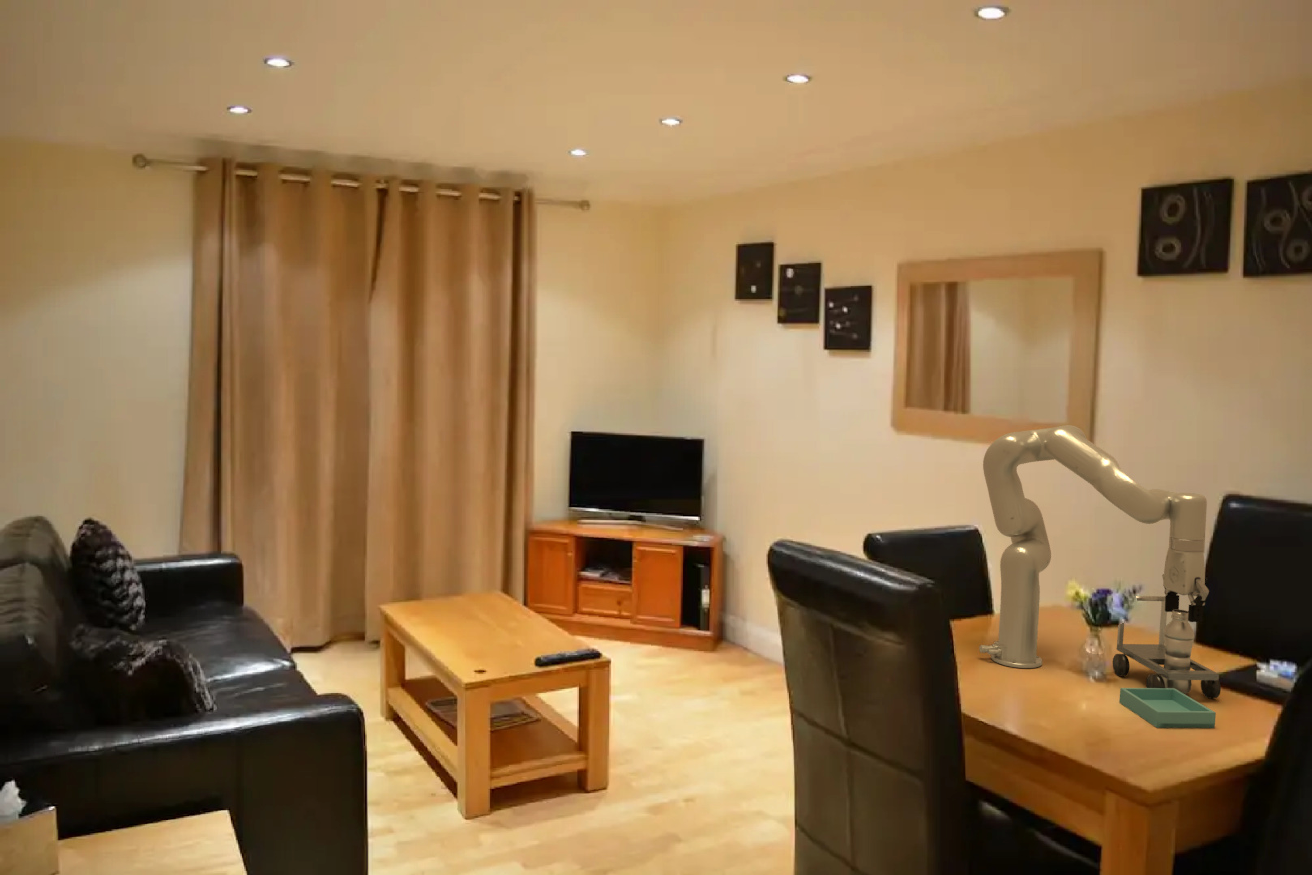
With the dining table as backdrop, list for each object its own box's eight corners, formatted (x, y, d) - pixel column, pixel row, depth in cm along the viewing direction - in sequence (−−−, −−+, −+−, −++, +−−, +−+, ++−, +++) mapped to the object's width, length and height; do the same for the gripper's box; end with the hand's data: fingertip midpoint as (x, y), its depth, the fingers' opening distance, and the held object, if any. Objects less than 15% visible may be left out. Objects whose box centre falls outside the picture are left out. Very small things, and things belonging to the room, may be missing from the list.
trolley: (1160, 702, 239) (1166, 620, 238) (1109, 670, 263) (1114, 595, 262) (1223, 703, 240) (1229, 620, 239) (1165, 670, 264) (1171, 596, 263)
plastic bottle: (1189, 699, 242) (1195, 616, 241) (1157, 693, 246) (1163, 611, 244) (1192, 692, 248) (1198, 610, 246) (1161, 686, 251) (1166, 606, 250)
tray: (1156, 727, 223) (1158, 712, 223) (1119, 702, 239) (1120, 687, 239) (1214, 728, 224) (1215, 712, 223) (1173, 702, 240) (1174, 688, 239)
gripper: (1151, 539, 252) (1148, 607, 253) (1192, 552, 235) (1188, 625, 236) (1181, 539, 253) (1177, 607, 254) (1224, 552, 235) (1220, 625, 237)
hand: (1183, 616), depth 245 cm, fingers open, 9 cm apart
